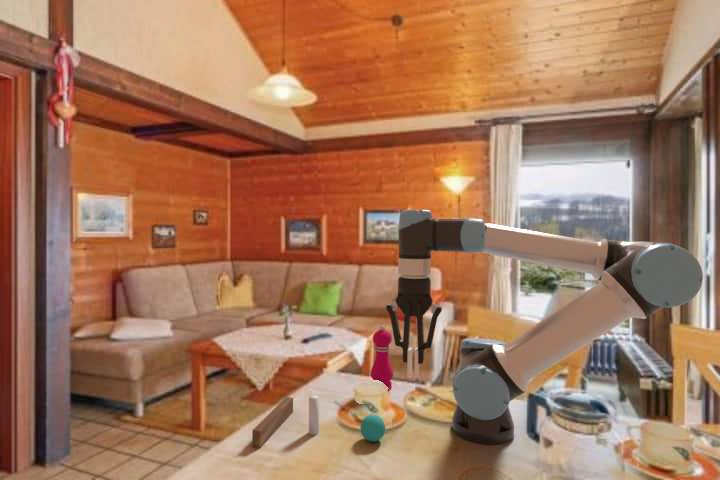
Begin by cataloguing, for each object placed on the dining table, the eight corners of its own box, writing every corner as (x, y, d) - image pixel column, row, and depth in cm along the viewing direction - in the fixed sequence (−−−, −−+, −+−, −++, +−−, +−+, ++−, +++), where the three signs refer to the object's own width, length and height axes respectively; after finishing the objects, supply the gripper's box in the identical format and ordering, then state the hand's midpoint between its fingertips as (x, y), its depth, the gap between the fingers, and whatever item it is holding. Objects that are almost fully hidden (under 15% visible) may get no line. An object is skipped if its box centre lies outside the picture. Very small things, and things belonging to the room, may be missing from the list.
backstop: (293, 412, 120) (293, 397, 120) (260, 448, 101) (260, 431, 101) (286, 411, 121) (286, 397, 121) (252, 447, 101) (252, 430, 101)
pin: (319, 431, 109) (319, 395, 109) (316, 435, 107) (316, 399, 107) (310, 430, 110) (310, 394, 110) (307, 434, 108) (307, 398, 107)
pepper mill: (391, 392, 135) (392, 328, 134) (368, 390, 136) (369, 327, 135) (394, 384, 142) (395, 323, 141) (372, 382, 143) (373, 322, 143)
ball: (387, 435, 107) (387, 411, 107) (382, 447, 101) (383, 422, 101) (363, 432, 109) (363, 409, 108) (357, 444, 103) (357, 419, 103)
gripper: (445, 275, 103) (444, 373, 104) (387, 273, 107) (386, 368, 107) (444, 279, 96) (442, 384, 97) (381, 277, 99) (380, 379, 100)
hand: (413, 376), depth 102 cm, fingers closed
